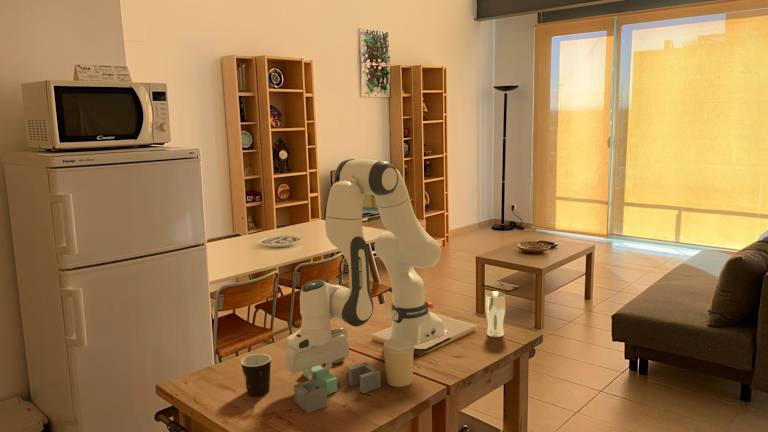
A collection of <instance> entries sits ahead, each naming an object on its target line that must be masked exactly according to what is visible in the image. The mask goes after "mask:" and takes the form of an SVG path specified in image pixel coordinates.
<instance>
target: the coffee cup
mask: <svg viewBox="0 0 768 432" xmlns="http://www.w3.org/2000/svg"><path fill="white" fill-rule="evenodd" d="M382 348H383V357H384V365H385V376H386V382H387V383H388V385H390V386H393V387H406V386H408V385H411V384H412V382H413V375H414V353H415V352H414V350H415V349H414V344H413V342H412V341H411V340H409V339H406V338H393V339H390V338H389V339H387V340H386V341H384V343H383V345H382Z"/></svg>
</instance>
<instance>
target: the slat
mask: <svg viewBox="0 0 768 432" xmlns="http://www.w3.org/2000/svg"><path fill="white" fill-rule="evenodd" d="M324 369H325V368H323V367H322V366H321V365H318V366H315V367H312V371H310V372H311V373H314V374H315V378H316V379H315V381H316V388H318V389H320V388H323V387H324V388H325V389H327V395H330V394H332V393H335V392H338V380H337V379H338V378H336V377H335V376H333V374H331V373H329V372H327V371H326V370H324ZM302 376H304V377H305V378H307V380H309V376H308V373H307V372H306V371H305V370H302Z"/></svg>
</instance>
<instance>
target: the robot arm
mask: <svg viewBox="0 0 768 432" xmlns="http://www.w3.org/2000/svg"><path fill="white" fill-rule="evenodd" d="M366 195H371V196H372V195H373V196H374V199H375V203H376V204H375V205H376V207H377V211H378V213H379V216H380V217H379V218H380V221H381V223H382V225H383V226H384V228H385V229H387V231H383V232H381V233H379V234H378V236H377V238H376V239H375V240H374V241H375V242H374V252H375V255H376V256H377V257H378V258H379V259H380V260H381V261H382V263H383V265H384V266H385V268H386V271H387V274H388V276H389V279H390V284H391V293H392V296H391V297H392V302H391V318H392V323H391V324H392V326H391V332H390V337H389V339H393V338H406V339H409V340H411V341H412V342H413V344H414V345H418V346H419V345H420V344H422V343H425V342H428V341H430V340H433V339H436V338H440V337H441V336H443V335H445V334H446V333H445V332H447V331H448V330H447V329H445V325H444V322H443V320H442V319H441V318H440V317H438V316H437V315H436V314H434V313H433V312H431V311H430V310H433V309H434V308H435V304H434V303H432V302H430V301H429V302H427V301H425V283H424V280H423V278H422V277H421V276H420V275H419V274H418V273H417V272H416V271H415V268H416V269H417V268H418V269H425V268H426V269H427V268H434V267H435V266H436V265H437V264H438V263H439V261H440V259H441V255H442V250H441V245H440V243H439V242H438V241H437V240H436V239H435V238H433V236H431V235H430V234H429V233H428V232H427V231H426V230H425V228H424V227H423V225H422V224H421V223H420V221H419V220H418V218H417V216H416V214H415V210H414V208H413V204H412V202H411V198H410V195H409V191H408V188H407V185H406V182H405V181H404V178H403V176H402V175H401V171H399V170H398V169H397V168H396V167H395V166H394V164H393V163H391V162H388V161H386V160H377V159H371V158H365V159H363V158H361V159H360V158H359V159H355V158H351V159H350V158H348V159H345V160H342V161H341V162H339V164H338V165H337V167H336V170H335V174H334V184H332V186H331V187H330V190H329V194H328V198H327V203H326V208H325V209H326V211H325V222H324V223H325V225H324V227H325V228H324V229H325V234H326V237H327V239H328V240H329V242H330V243H331V245H333V246H334V247H335V248H336V249H338V251H340V253H341V254H342V255H343V256H344V257H345V259H346V261H347V265H348V279H349V281H348V282H349V287H347V286H345V285H344V286H343V285H340V284H331V283H330V282H329V283H328V282H326V281H325V280H323V279H314V280H312V279H311V280H309V281H307V282H305V284H303V285H302V286H301V289H300V292H299V293H300V294H299V310H300V311H299V313H300V316H301V324H300V325H301V326H300V327H301V328H299V329H298V330H296V331H295V332H294V333H292V334H290V335H289V336H287V337H286V340H285V341H286V343H287V346H286V348H285V351H284V353H285V354H284V355H285V356H284V363H285V364H284V365H285V369H286V370H287V371H288V372H290V373H291V374H295V373H299V372H300V371H302V372H303V370H305V371H306V372H307V373H308V376H309V379H308V381H309V380H312V379H314V380H315V379H316V378H315V374H314V373H311V372H310V371H312V367H315V366H318V365H319V366H321V365H324V364H325V367H324V368H323V369H324V370H326V371H327V372H329V373H330V370H331V369H332V367H333V363H332V361H335V360H338V359H341V358H344V357H345V358H347V357H348V356H349V354H350V347H349V342H348V331H347V329H345V328H343V327H339V328H337V329H332V319H335V318H336V319H338V320H340V321H343V322H345V323H346V324H349V325H350V326H352V327H356V328H357V327H361V326H363V325H364V324H366V323H367V322H368V321H369V320H370V319H371V318H372V315H373V312H374V300H373V297H372V293H371V292H372V291H371V282H370V281H371V280H370V261H369V250H368V244H367V242H366V240H365V238H364V237H365V236H364V232H363V231H364V230H363V201H364V199H365V197H366ZM429 309H430V310H429ZM330 374H331V373H330Z"/></svg>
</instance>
